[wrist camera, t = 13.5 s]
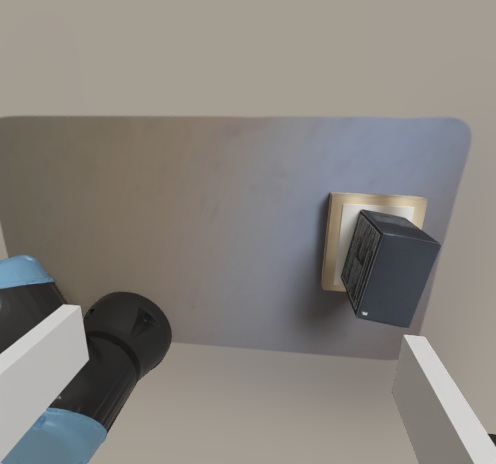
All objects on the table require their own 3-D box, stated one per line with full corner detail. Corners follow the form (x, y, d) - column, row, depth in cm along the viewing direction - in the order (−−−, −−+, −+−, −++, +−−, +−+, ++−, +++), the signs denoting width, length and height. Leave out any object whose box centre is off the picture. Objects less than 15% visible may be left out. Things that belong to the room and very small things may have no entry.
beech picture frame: (320, 282, 49) (322, 290, 47) (330, 192, 45) (332, 196, 42) (402, 288, 48) (408, 297, 45) (420, 196, 44) (428, 200, 41)
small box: (384, 287, 45) (411, 332, 36) (339, 278, 46) (352, 319, 36) (409, 217, 42) (446, 245, 32) (359, 207, 42) (381, 232, 33)
